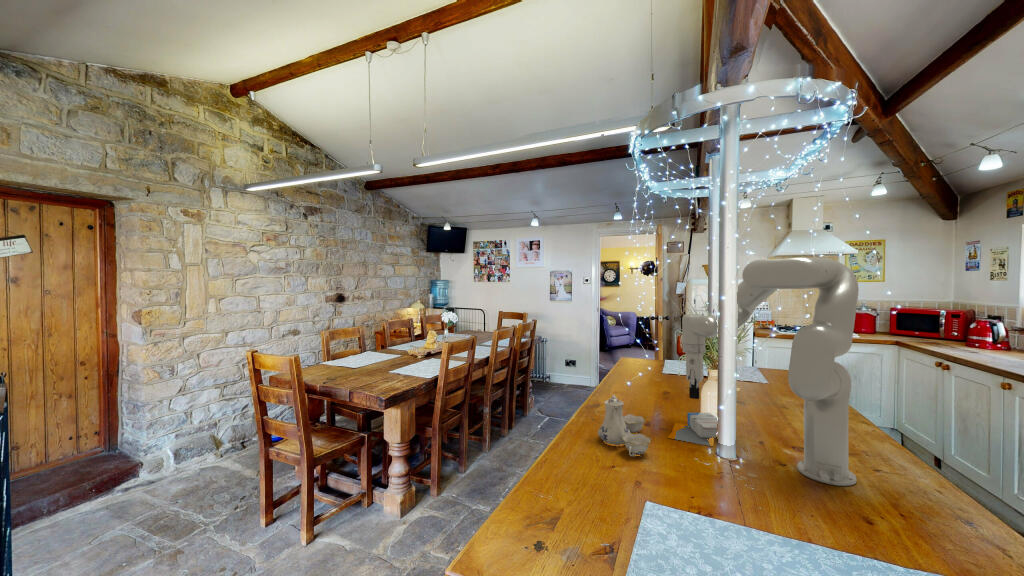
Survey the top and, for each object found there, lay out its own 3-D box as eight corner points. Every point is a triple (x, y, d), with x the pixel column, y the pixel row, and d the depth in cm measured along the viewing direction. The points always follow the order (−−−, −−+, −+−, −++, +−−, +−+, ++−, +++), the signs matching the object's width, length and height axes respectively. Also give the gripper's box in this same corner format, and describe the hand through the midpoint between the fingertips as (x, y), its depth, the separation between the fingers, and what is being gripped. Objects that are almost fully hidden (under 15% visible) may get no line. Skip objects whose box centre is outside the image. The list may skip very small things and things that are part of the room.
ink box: (687, 425, 143) (702, 441, 128) (687, 412, 143) (702, 426, 128) (711, 425, 142) (729, 442, 127) (711, 412, 142) (729, 427, 127)
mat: (713, 447, 125) (713, 446, 125) (667, 438, 132) (667, 437, 132) (716, 429, 139) (716, 429, 139) (675, 423, 146) (675, 422, 146)
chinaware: (657, 468, 115) (662, 413, 114) (600, 460, 117) (605, 406, 117) (639, 432, 143) (644, 387, 142) (594, 425, 145) (598, 382, 144)
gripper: (703, 352, 132) (703, 405, 132) (707, 345, 144) (707, 394, 145) (679, 350, 136) (680, 402, 136) (685, 344, 148) (685, 391, 149)
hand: (694, 398), depth 140 cm, fingers closed
